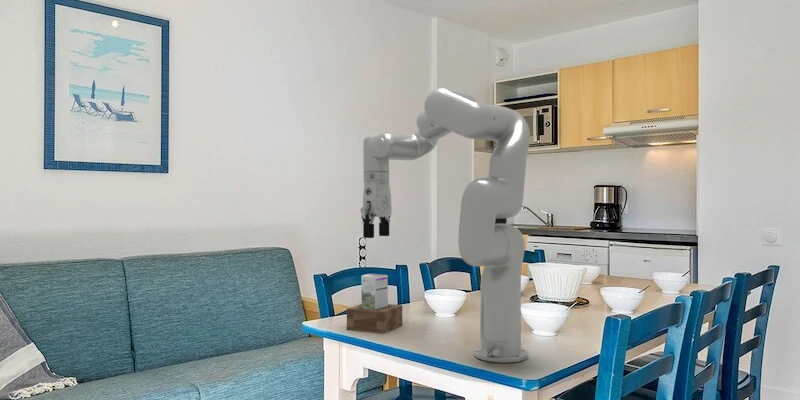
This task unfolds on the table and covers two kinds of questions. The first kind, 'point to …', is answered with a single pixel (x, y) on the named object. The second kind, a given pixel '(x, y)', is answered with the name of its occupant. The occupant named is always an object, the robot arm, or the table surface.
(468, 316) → the table surface
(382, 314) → the socket block
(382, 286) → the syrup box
